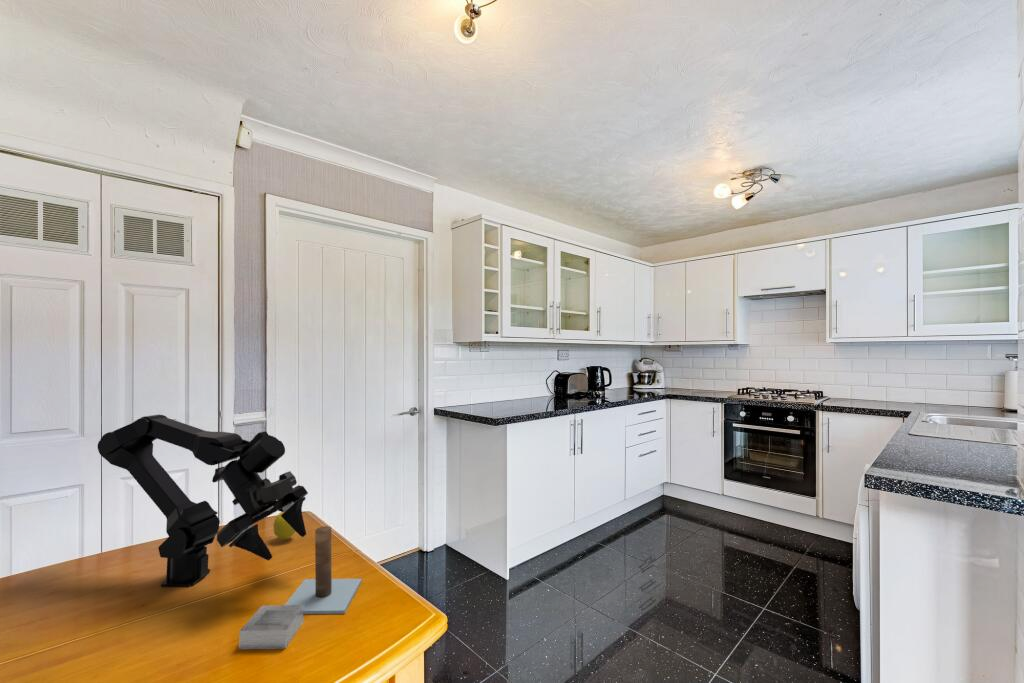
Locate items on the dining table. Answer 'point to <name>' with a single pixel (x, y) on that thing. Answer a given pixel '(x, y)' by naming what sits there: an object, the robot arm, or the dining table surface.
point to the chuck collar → (271, 627)
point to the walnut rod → (323, 562)
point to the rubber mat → (327, 605)
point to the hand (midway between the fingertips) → (288, 546)
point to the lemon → (282, 528)
